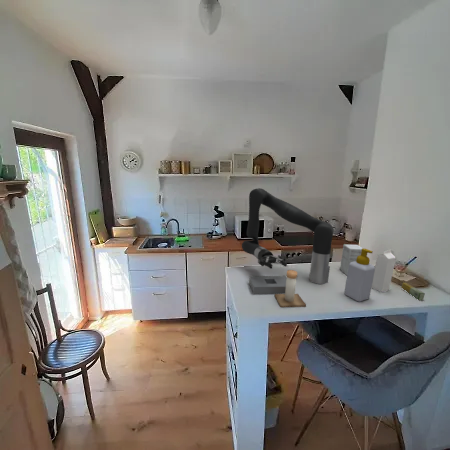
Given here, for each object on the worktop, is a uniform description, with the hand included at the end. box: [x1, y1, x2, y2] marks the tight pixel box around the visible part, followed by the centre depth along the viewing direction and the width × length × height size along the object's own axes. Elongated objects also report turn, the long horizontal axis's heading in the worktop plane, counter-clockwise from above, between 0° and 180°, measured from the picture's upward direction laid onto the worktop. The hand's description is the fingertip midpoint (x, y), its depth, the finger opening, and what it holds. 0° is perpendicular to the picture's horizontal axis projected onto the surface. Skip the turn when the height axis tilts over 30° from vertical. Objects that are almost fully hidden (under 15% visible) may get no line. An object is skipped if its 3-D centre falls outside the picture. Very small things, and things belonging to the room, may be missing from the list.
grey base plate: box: [248, 275, 287, 295], centre depth 130 cm, size 20×12×4 cm, turn 96°
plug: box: [285, 269, 298, 302], centre depth 117 cm, size 5×5×14 cm
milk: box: [371, 249, 397, 293], centre depth 131 cm, size 6×6×22 cm
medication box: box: [400, 282, 425, 301], centre depth 129 cm, size 12×3×4 cm, turn 3°
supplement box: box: [339, 243, 363, 276], centre depth 152 cm, size 10×9×17 cm
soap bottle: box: [343, 247, 375, 302], centre depth 122 cm, size 9×9×25 cm
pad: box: [273, 293, 307, 308], centre depth 119 cm, size 12×10×1 cm
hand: (279, 265), depth 126 cm, fingers open, 8 cm apart
